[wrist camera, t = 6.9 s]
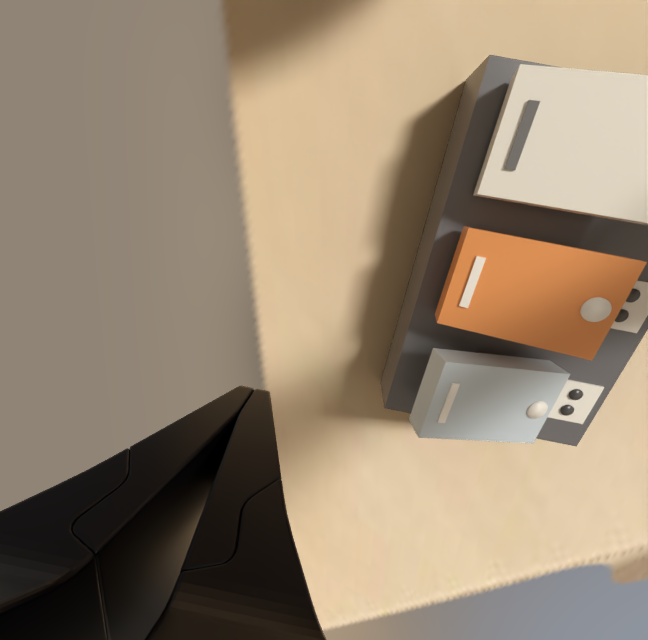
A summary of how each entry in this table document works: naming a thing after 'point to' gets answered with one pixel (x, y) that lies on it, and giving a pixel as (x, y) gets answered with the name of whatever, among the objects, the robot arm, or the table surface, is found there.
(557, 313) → the orange box with knob
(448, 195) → the power strip
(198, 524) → the robot arm
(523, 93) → the ivory rocker
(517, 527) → the table surface
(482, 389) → the grey-blue rocker
